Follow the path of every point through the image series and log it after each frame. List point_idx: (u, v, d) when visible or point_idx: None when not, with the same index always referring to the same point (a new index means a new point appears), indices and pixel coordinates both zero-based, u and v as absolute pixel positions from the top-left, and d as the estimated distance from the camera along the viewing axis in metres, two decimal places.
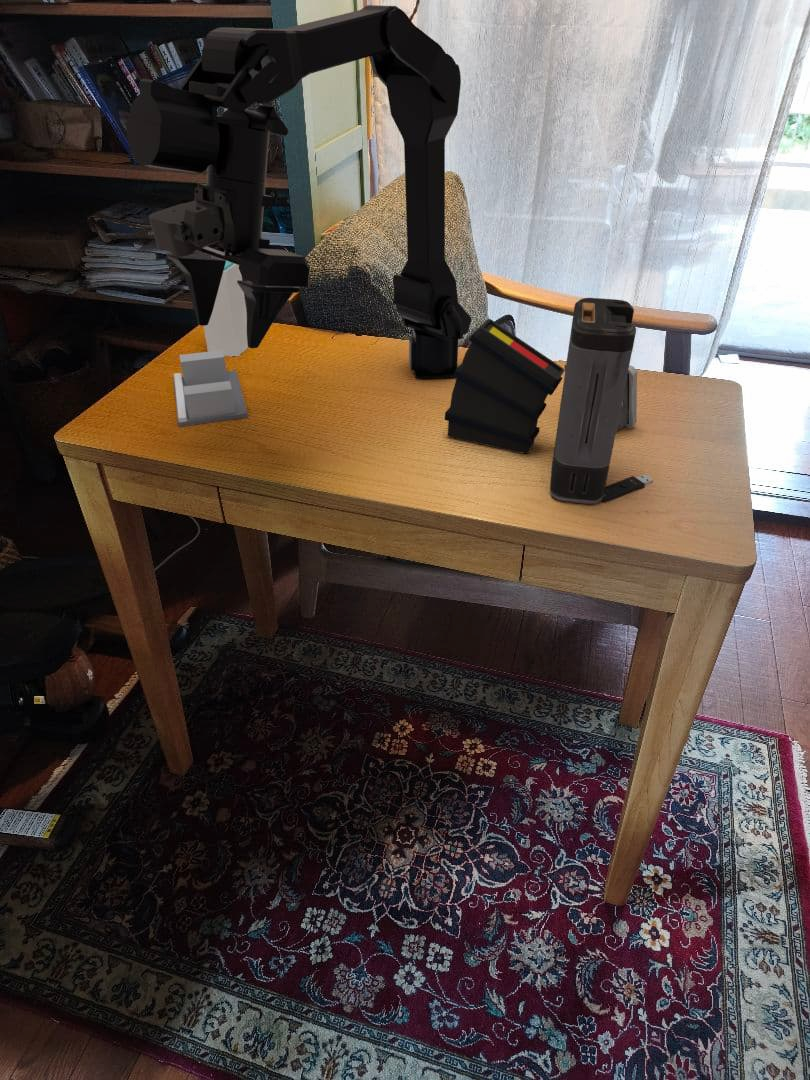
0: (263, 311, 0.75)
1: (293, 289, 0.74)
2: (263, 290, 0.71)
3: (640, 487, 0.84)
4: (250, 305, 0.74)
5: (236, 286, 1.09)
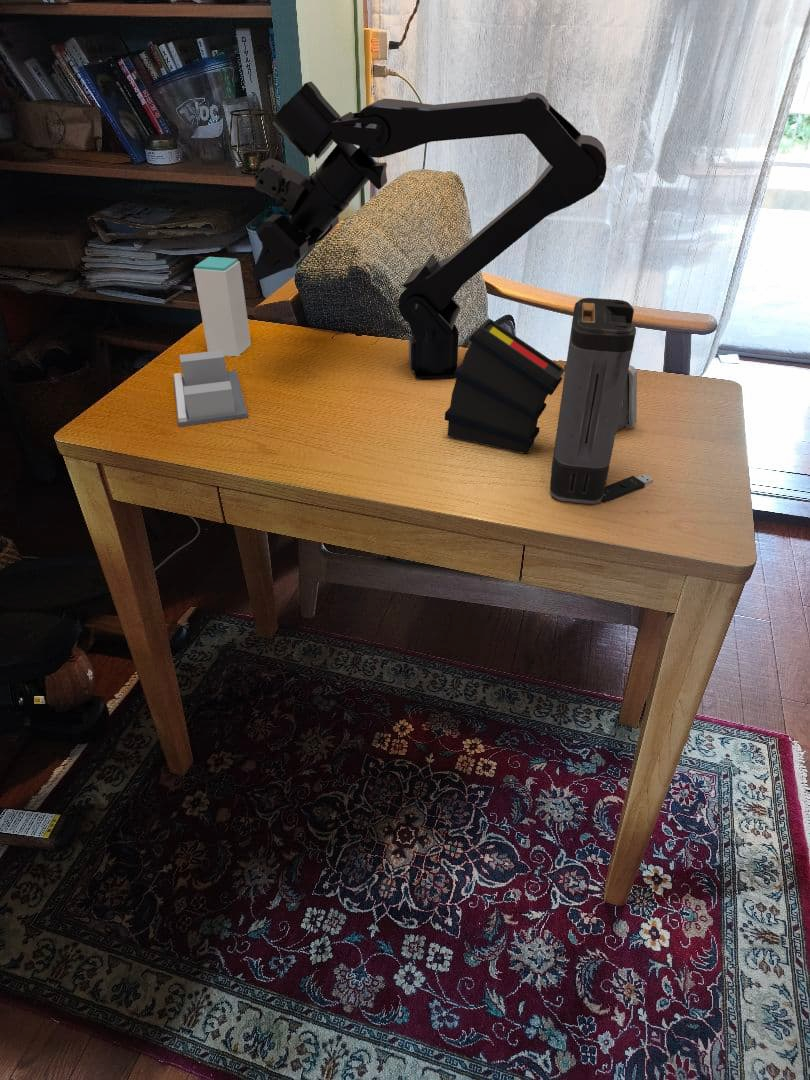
0: (268, 260, 0.98)
1: (284, 261, 0.96)
2: (261, 240, 0.95)
3: (640, 487, 0.84)
4: None
5: (236, 286, 1.09)
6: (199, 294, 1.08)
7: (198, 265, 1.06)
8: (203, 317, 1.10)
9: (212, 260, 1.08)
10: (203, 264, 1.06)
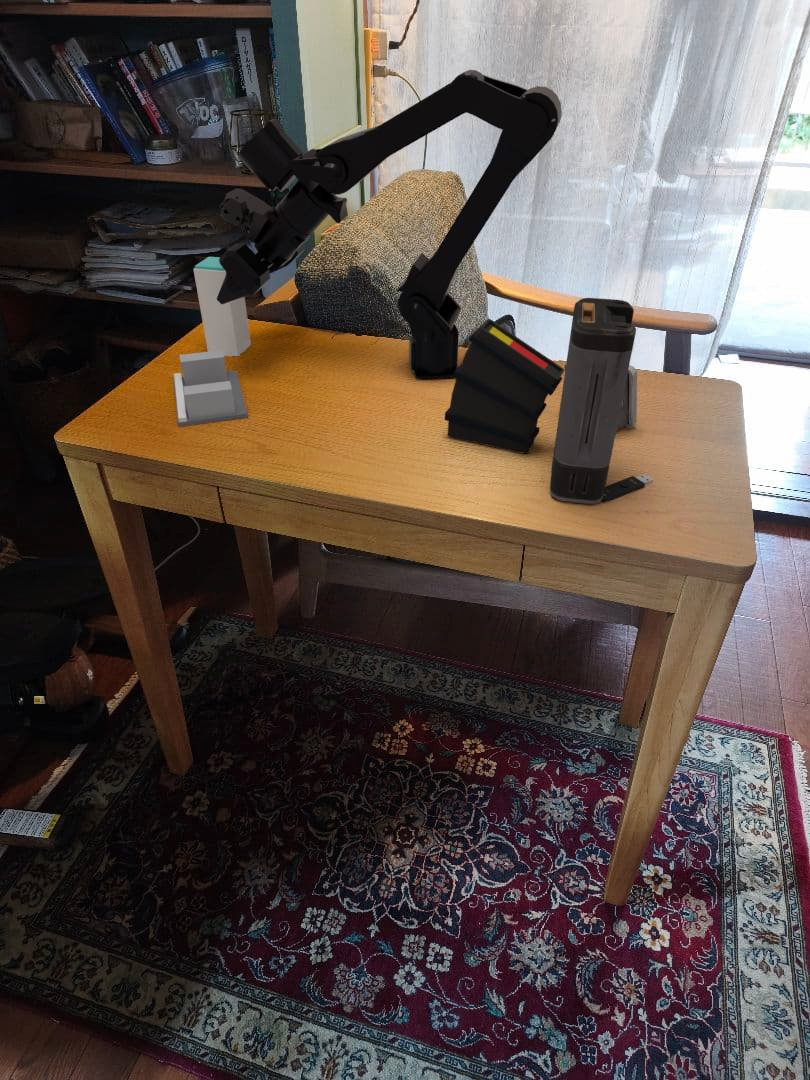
0: (232, 286, 1.02)
1: None
2: None
3: (640, 487, 0.84)
4: None
5: None
6: (199, 294, 1.08)
7: (198, 265, 1.06)
8: (203, 317, 1.10)
9: (212, 260, 1.08)
10: (203, 264, 1.06)
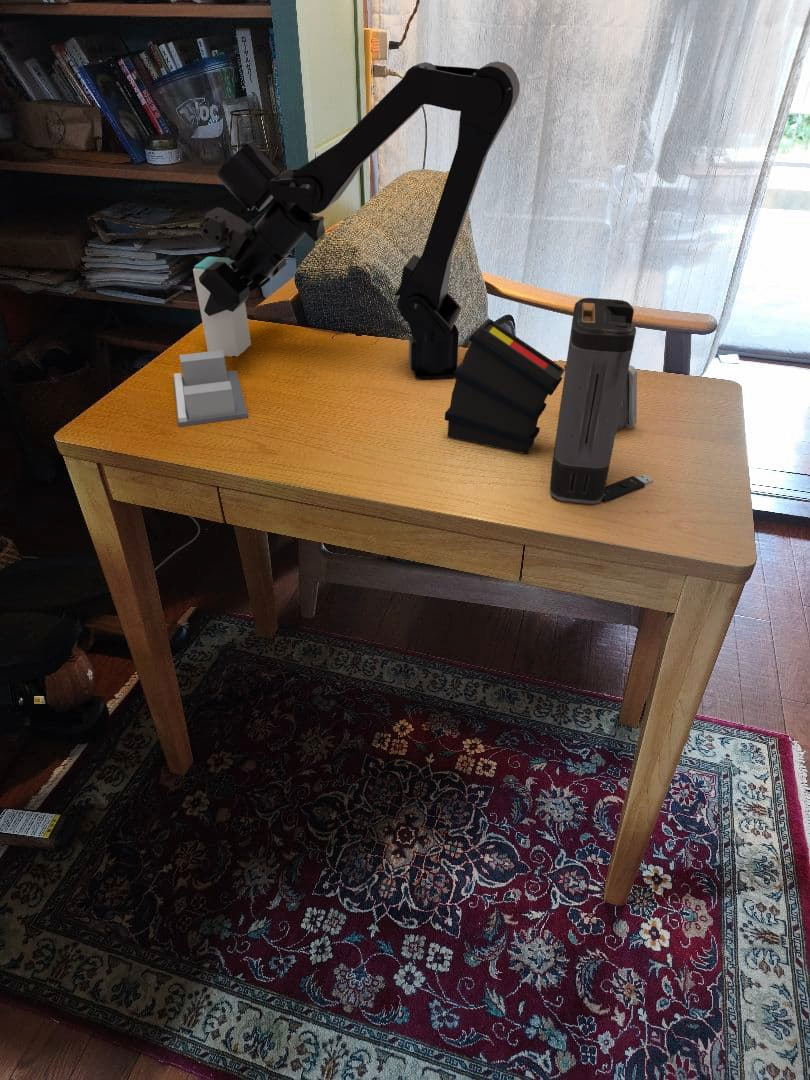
0: None
1: None
2: None
3: (640, 487, 0.84)
4: None
5: None
6: (199, 294, 1.08)
7: (197, 265, 1.06)
8: (202, 317, 1.10)
9: (211, 260, 1.08)
10: (202, 264, 1.06)
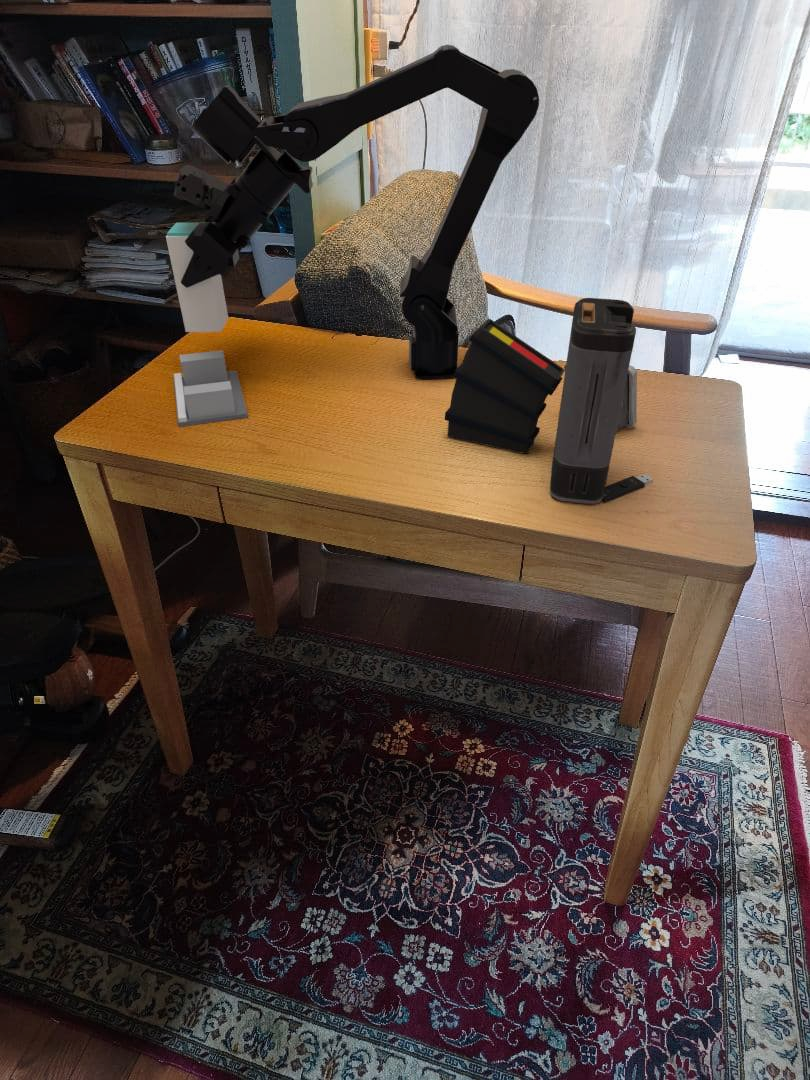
0: (199, 266, 0.96)
1: None
2: None
3: (640, 487, 0.84)
4: None
5: None
6: (173, 265, 0.98)
7: (170, 232, 0.95)
8: (178, 291, 1.00)
9: (183, 226, 0.97)
10: (175, 230, 0.96)
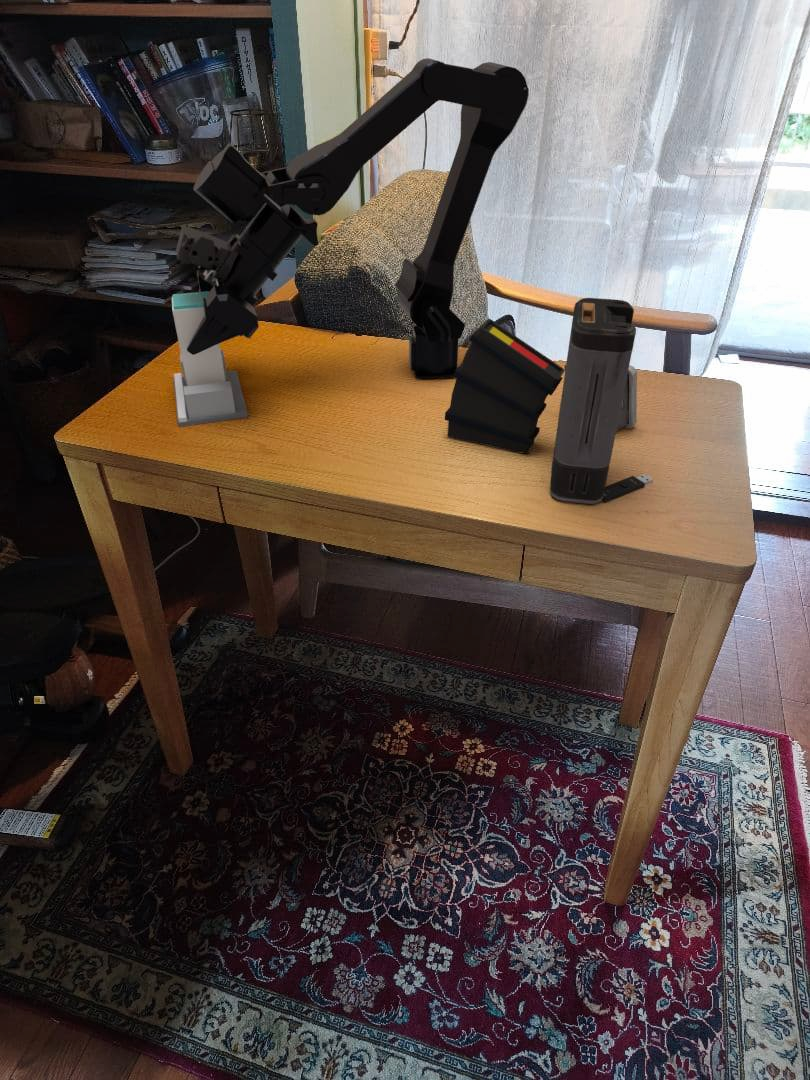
0: (210, 332, 0.92)
1: (236, 330, 0.90)
2: (210, 312, 0.88)
3: (640, 487, 0.84)
4: (202, 320, 0.91)
5: None
6: (180, 338, 0.93)
7: (176, 305, 0.91)
8: (184, 364, 0.95)
9: (183, 297, 0.94)
10: (180, 303, 0.92)
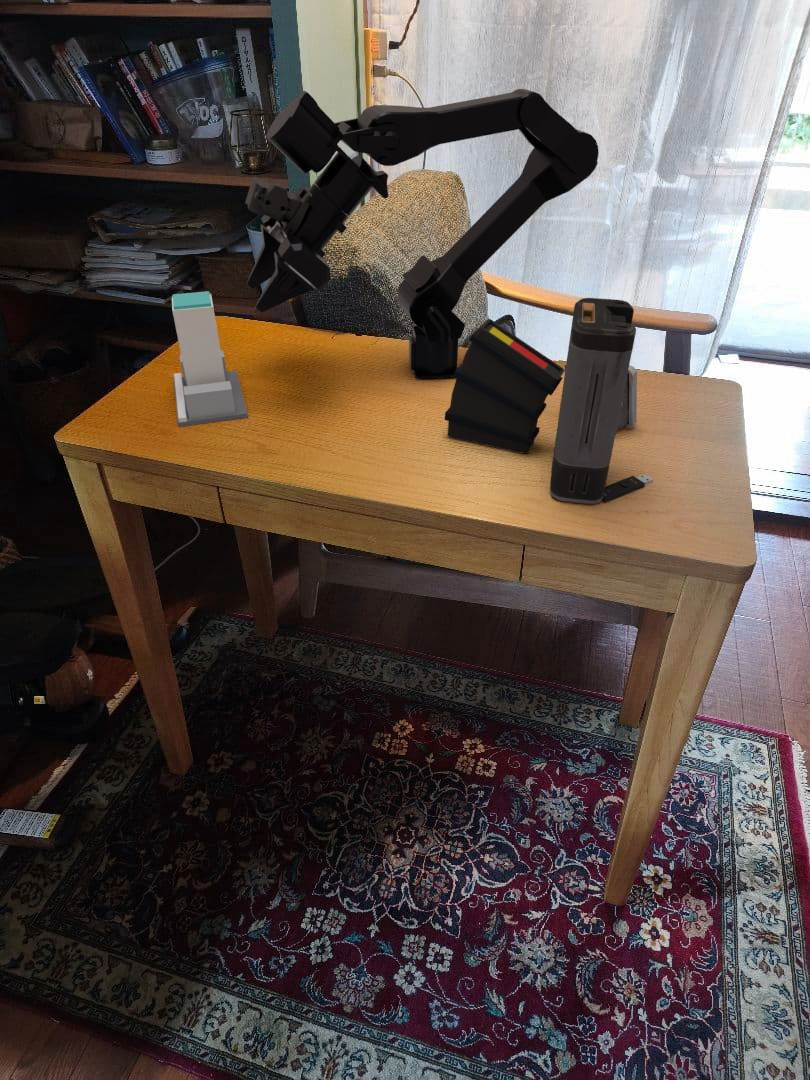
0: (280, 288, 0.90)
1: (308, 285, 0.88)
2: (284, 266, 0.86)
3: (640, 487, 0.84)
4: (273, 276, 0.89)
5: None
6: (180, 338, 0.93)
7: (176, 305, 0.91)
8: (184, 364, 0.95)
9: (183, 297, 0.94)
10: (180, 303, 0.92)
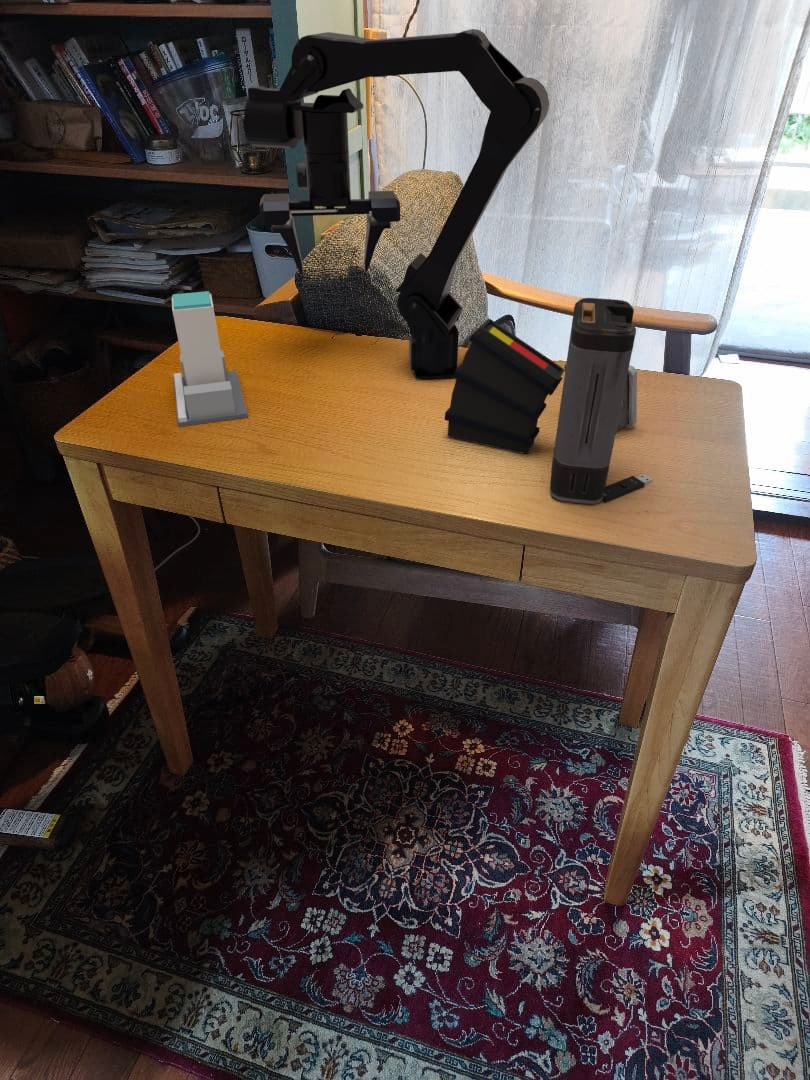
0: None
1: None
2: None
3: (640, 487, 0.84)
4: None
5: None
6: (180, 338, 0.93)
7: (176, 305, 0.91)
8: (184, 364, 0.95)
9: (183, 297, 0.94)
10: (180, 303, 0.92)
